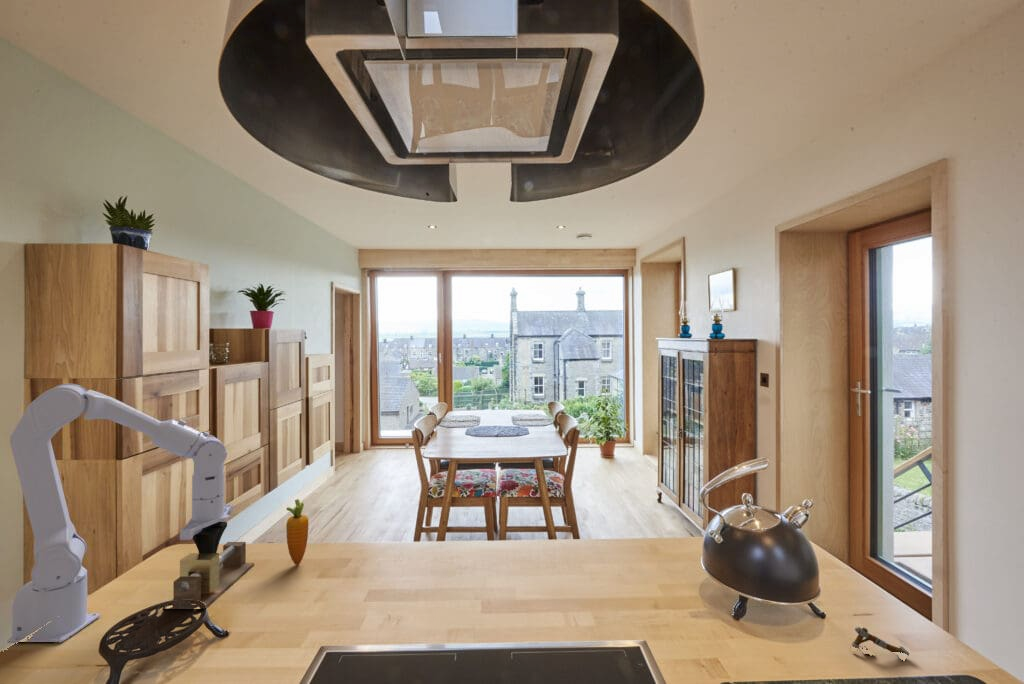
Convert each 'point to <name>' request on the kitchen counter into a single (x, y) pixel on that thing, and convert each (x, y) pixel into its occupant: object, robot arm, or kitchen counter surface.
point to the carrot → (297, 533)
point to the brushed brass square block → (202, 569)
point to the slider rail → (227, 577)
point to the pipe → (222, 557)
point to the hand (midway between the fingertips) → (208, 560)
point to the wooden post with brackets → (874, 641)
